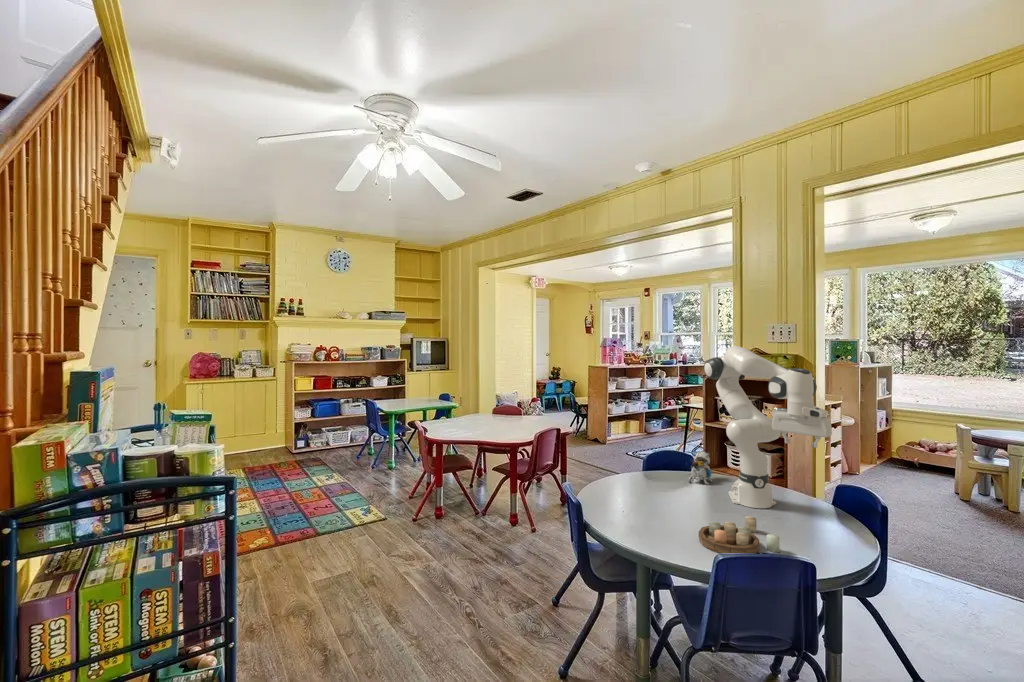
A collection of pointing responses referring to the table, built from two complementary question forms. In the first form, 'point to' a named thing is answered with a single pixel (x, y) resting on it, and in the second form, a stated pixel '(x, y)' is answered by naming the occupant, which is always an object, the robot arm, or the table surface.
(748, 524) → the tan egg
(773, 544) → the sage green egg
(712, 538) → the groove tray
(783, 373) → the robot arm
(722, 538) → the orange egg
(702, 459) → the robotic toy
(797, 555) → the table surface
